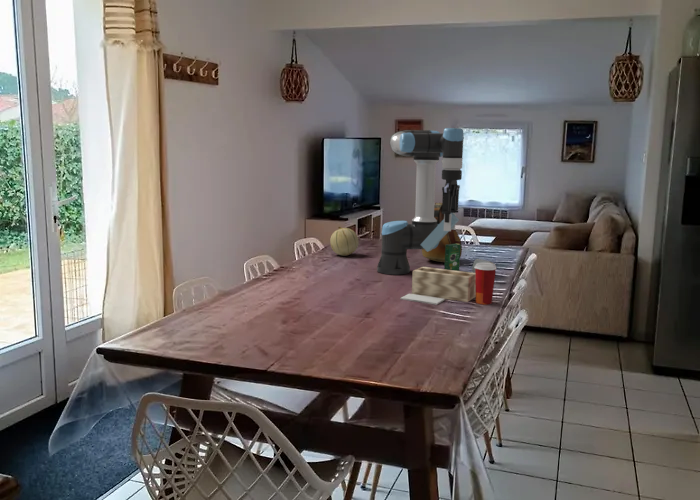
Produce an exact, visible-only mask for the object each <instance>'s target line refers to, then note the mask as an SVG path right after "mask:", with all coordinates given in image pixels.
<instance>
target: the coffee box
mask: <svg viewBox="0 0 700 500" xmlns="http://www.w3.org/2000/svg"><path fill="white" fill-rule="evenodd" d="M461 244H462V243H461ZM461 244H447V245H446V247H445V262H444V268H443V269H446V270H454V271H460V263H461V257H460V248H461Z"/></svg>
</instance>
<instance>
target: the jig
mask: <svg viewBox="0 0 700 500" xmlns="http://www.w3.org/2000/svg"><path fill="white" fill-rule="evenodd" d="M411 280H412V281H411V294H416V295H423V296H429V297H436V298H443V299H445V300H451V301H456V300H457V301H456V302H464V303H468V302H470V301H471V300H473V299H476V284H475V273H473V272H472V271H471V272H469V271H462V270H459V271H454V270H446V269H444V268H437V267H429V266H421V267H418V268H416V269H414V270H412V278H411Z"/></svg>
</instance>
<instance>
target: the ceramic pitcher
mask: <svg viewBox="0 0 700 500" xmlns="http://www.w3.org/2000/svg"><path fill="white" fill-rule="evenodd" d="M434 218H435V219H436V220H437V224H440V223H441V222H442V220H443V219H444V214H442V202H441V201H440V202H434ZM447 244H461V248H460V258H461V257H462V253H463V252H462V251H463V245H462V240H461V237H460V235H459V234H458V232H457V230H456V229H455V230H451V231H449V232H448V233H447V234H446V235H445V236H444V237H443V238H442V239H441V240H440V241H439V244H438V246H437V247H436V248H435V249H432V250H431V251H428V252H427V251H426V250H425V249H421V254H422V255H421V256H423V258H425V259H428V260H430V261H435V262H440V263H445V247H446V245H447Z"/></svg>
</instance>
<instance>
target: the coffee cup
mask: <svg viewBox="0 0 700 500" xmlns="http://www.w3.org/2000/svg"><path fill="white" fill-rule="evenodd" d="M474 268H475V284H476V297H475V304H477V305H483V306H484V305H485V306H487V305H491V304H492V303H493V296H494V289H495V288H494V287H495V280H496V270H497V267H496V264H495V263H494V262H492V263H477V264H476V265H475V267H474Z"/></svg>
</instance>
